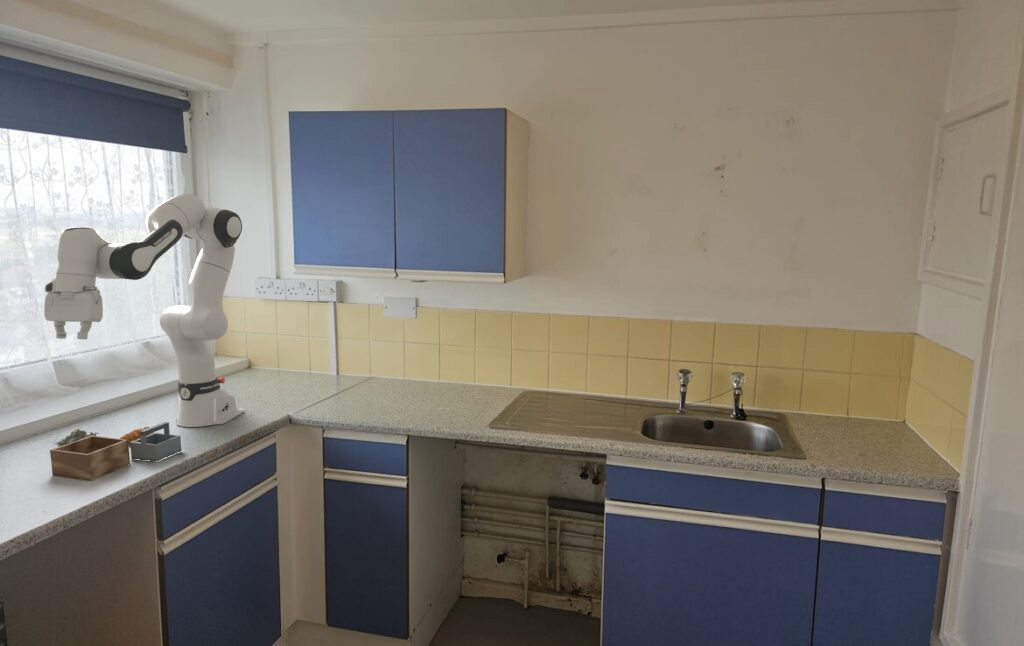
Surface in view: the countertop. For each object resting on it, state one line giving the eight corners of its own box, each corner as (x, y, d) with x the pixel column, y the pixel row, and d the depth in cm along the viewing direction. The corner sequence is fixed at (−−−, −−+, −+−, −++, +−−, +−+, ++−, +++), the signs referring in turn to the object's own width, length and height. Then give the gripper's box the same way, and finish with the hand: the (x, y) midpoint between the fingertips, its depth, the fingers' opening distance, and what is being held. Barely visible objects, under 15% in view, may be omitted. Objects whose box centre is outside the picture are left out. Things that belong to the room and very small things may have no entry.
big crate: (94, 459, 188) (92, 435, 187) (130, 464, 185) (128, 439, 184) (52, 475, 176) (49, 450, 175) (90, 480, 173) (87, 454, 172)
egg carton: (80, 440, 205) (79, 427, 205) (102, 441, 204) (101, 428, 204) (52, 452, 195) (51, 438, 194) (75, 453, 194) (74, 439, 193)
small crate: (156, 448, 197) (154, 420, 196) (181, 452, 195) (179, 423, 193) (131, 459, 188) (129, 429, 187) (157, 462, 186) (155, 432, 185)
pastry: (126, 448, 198) (125, 435, 198) (114, 444, 202) (113, 432, 201) (157, 439, 206) (156, 427, 205) (145, 436, 210) (144, 424, 209)
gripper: (111, 287, 175) (107, 340, 174) (65, 288, 184) (61, 338, 183) (87, 284, 169) (82, 339, 168) (40, 286, 178) (36, 337, 178)
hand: (71, 338), depth 176 cm, fingers open, 8 cm apart
